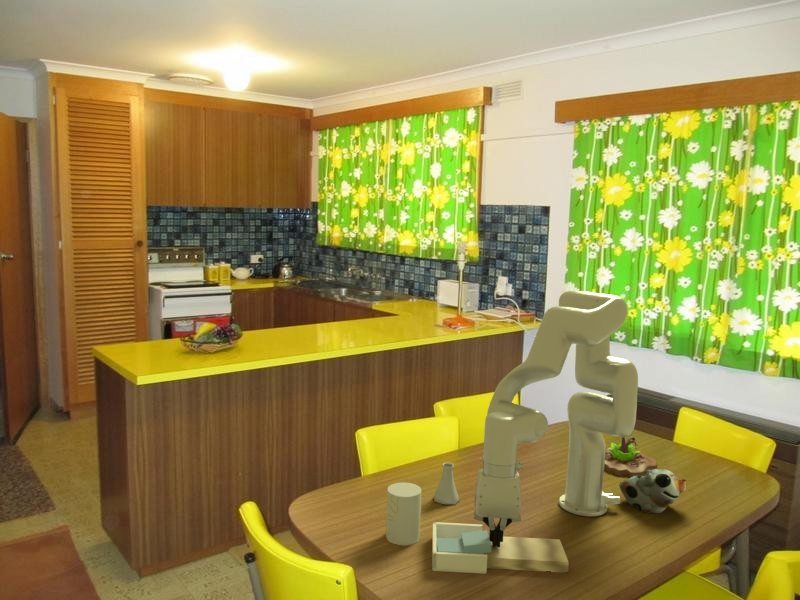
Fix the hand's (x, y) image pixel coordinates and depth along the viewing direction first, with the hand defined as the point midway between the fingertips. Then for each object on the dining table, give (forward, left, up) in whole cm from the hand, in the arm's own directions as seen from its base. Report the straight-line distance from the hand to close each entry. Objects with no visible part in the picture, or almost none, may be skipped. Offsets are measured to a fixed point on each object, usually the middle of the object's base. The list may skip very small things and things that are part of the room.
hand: (495, 544), depth 147 cm
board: (-6, 0, -3) cm, 7 cm away
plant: (-46, -62, -4) cm, 77 cm away
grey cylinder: (+22, -7, -3) cm, 23 cm away
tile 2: (+4, 0, -1) cm, 4 cm away
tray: (+9, 0, -3) cm, 9 cm away
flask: (+11, -29, -3) cm, 31 cm away
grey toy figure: (-46, -32, -3) cm, 56 cm away
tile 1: (+10, +1, -3) cm, 11 cm away
